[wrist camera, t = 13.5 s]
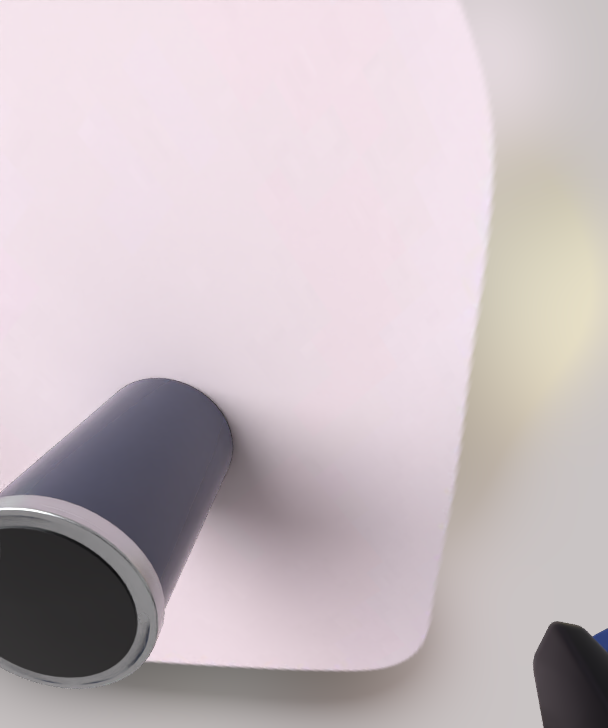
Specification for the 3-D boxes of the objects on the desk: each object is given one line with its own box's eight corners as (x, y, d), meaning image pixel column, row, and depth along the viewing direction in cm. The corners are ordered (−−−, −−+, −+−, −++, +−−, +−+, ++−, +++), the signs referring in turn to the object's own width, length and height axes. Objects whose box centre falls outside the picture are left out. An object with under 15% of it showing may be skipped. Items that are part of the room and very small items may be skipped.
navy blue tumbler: (243, 388, 20) (160, 535, 11) (229, 511, 22) (152, 710, 14) (97, 362, 20) (-89, 488, 12) (99, 486, 22) (-56, 667, 14)
